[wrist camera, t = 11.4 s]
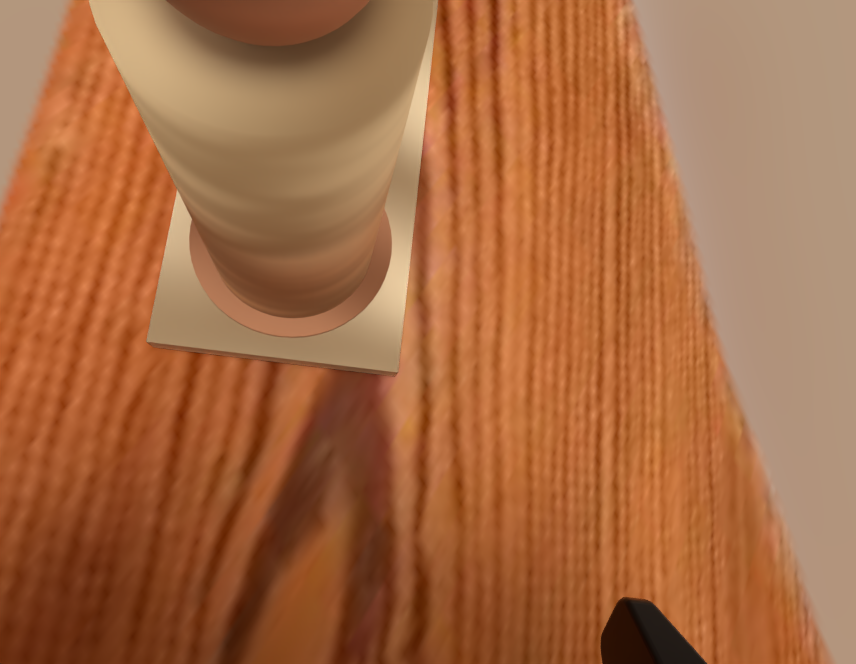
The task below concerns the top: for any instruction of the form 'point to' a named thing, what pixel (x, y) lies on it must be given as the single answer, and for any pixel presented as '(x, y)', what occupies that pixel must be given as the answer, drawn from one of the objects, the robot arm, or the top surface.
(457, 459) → the top surface
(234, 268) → the terracotta ball tube
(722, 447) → the top surface
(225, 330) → the board
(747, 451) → the top surface
